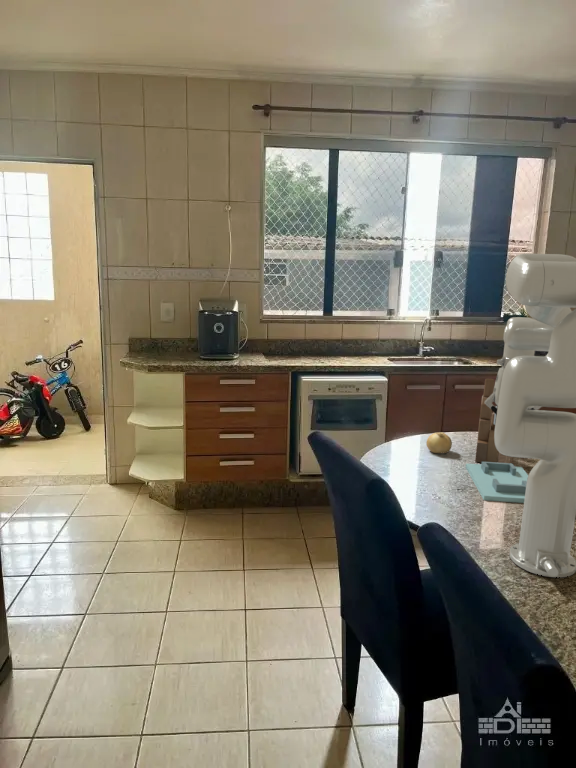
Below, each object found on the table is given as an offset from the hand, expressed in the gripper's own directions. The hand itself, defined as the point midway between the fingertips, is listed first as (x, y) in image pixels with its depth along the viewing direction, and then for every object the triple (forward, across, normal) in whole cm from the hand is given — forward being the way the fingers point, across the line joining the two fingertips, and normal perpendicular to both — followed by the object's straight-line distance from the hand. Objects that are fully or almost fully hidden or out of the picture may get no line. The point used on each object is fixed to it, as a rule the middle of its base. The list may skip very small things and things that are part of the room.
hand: (509, 429), depth 153 cm
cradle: (+16, 0, 0) cm, 16 cm away
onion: (+16, -14, +25) cm, 33 cm away
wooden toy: (+16, +1, +24) cm, 29 cm away
